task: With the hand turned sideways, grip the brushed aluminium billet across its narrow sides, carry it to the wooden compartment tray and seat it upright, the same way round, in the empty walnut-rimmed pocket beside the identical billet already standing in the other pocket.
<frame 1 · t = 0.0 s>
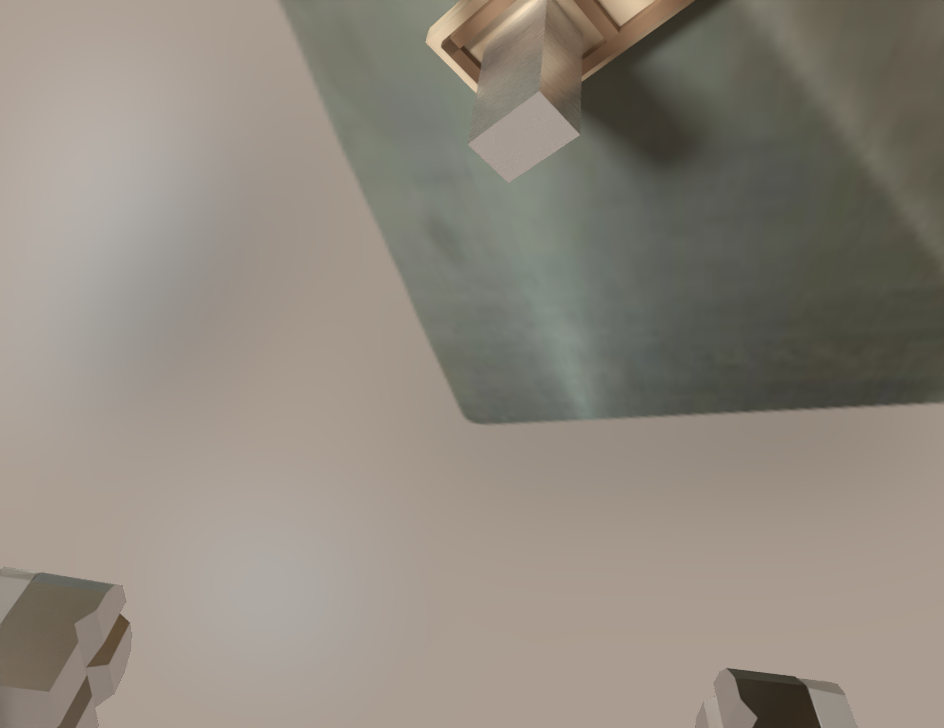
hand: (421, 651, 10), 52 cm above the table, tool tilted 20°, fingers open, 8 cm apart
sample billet: (533, 39, 56), resting on wooden compartment tray
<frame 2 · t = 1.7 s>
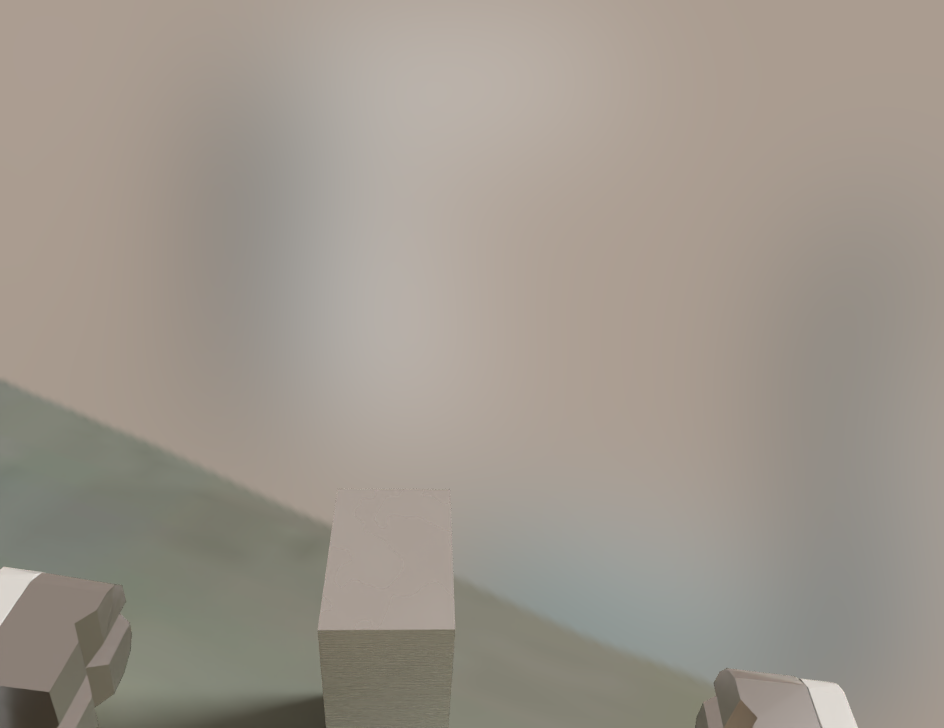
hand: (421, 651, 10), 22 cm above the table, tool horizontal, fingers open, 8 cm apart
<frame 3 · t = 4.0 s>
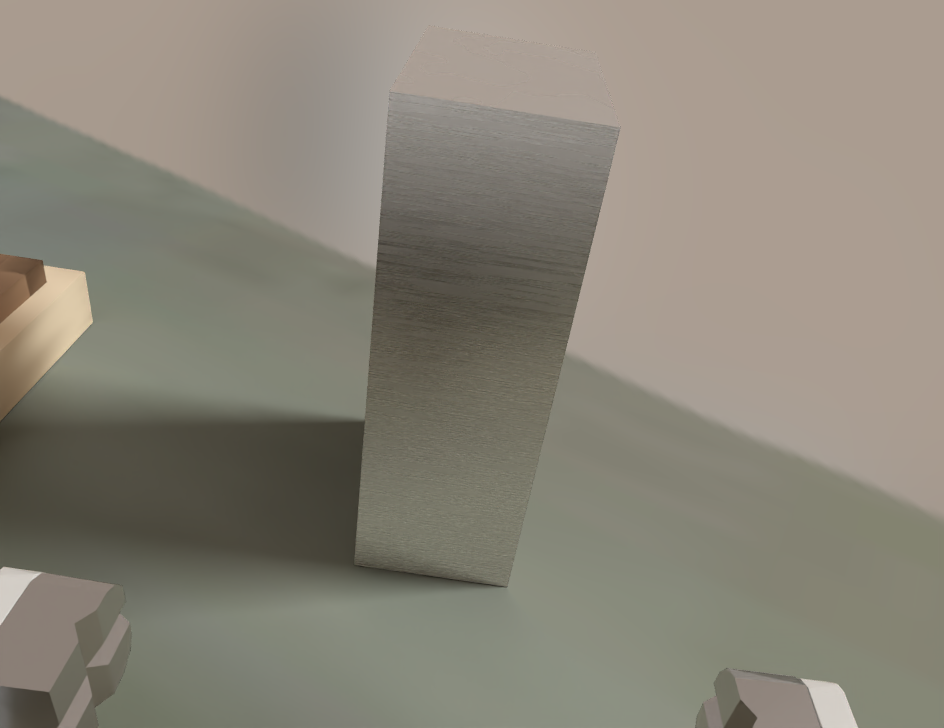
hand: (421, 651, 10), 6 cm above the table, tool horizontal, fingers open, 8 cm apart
aluminium billet: (442, 495, 22), on the table
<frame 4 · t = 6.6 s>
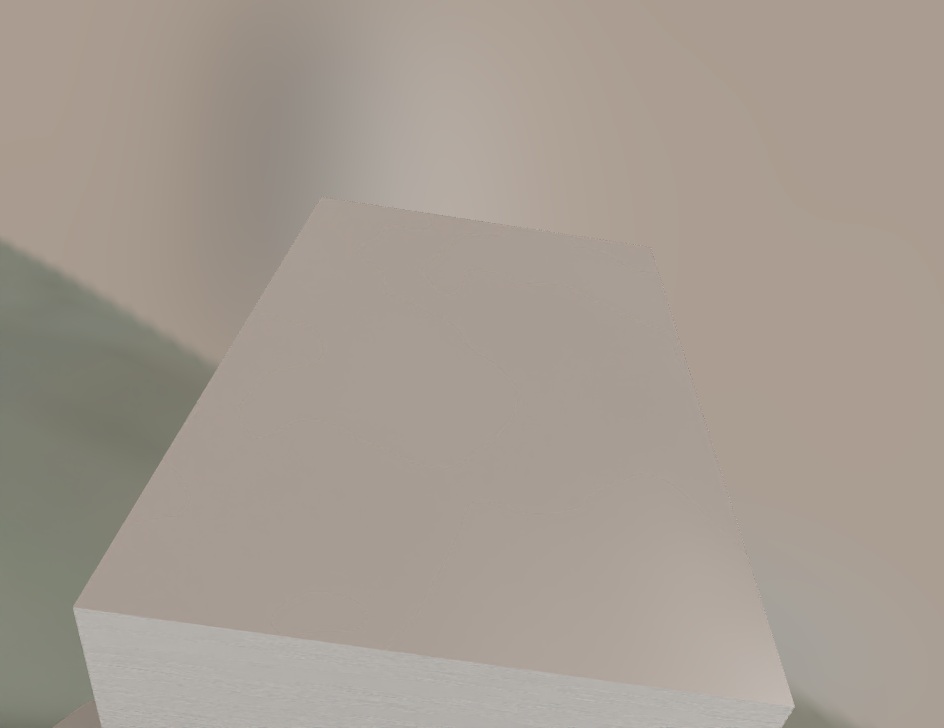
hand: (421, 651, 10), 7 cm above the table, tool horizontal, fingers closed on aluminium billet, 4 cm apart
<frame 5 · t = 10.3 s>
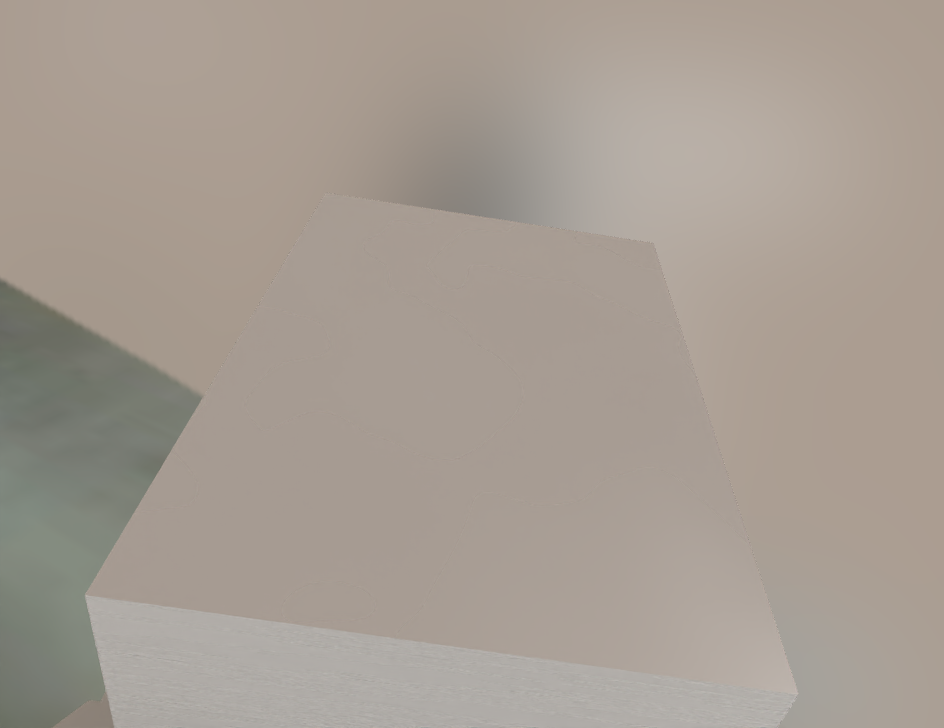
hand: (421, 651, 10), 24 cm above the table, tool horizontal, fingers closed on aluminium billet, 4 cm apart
when the fingers open (10 cm above the table, at t = 14.5 s): aluminium billet drops 1 cm, resting on wooden compartment tray.
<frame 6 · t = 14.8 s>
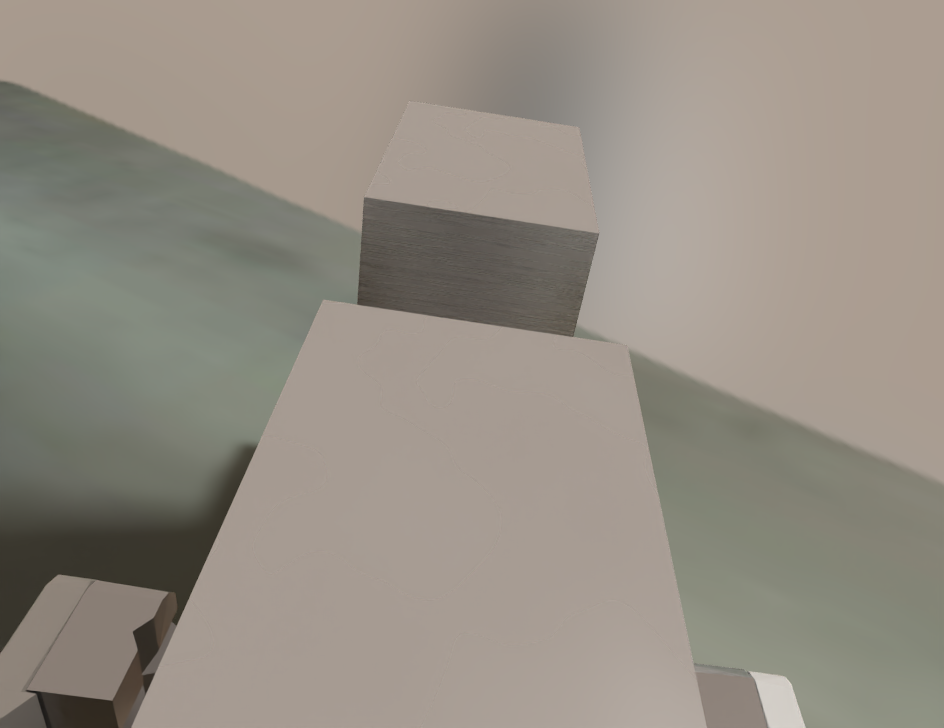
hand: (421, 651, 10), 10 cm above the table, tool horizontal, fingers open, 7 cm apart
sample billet: (426, 560, 22), resting on wooden compartment tray
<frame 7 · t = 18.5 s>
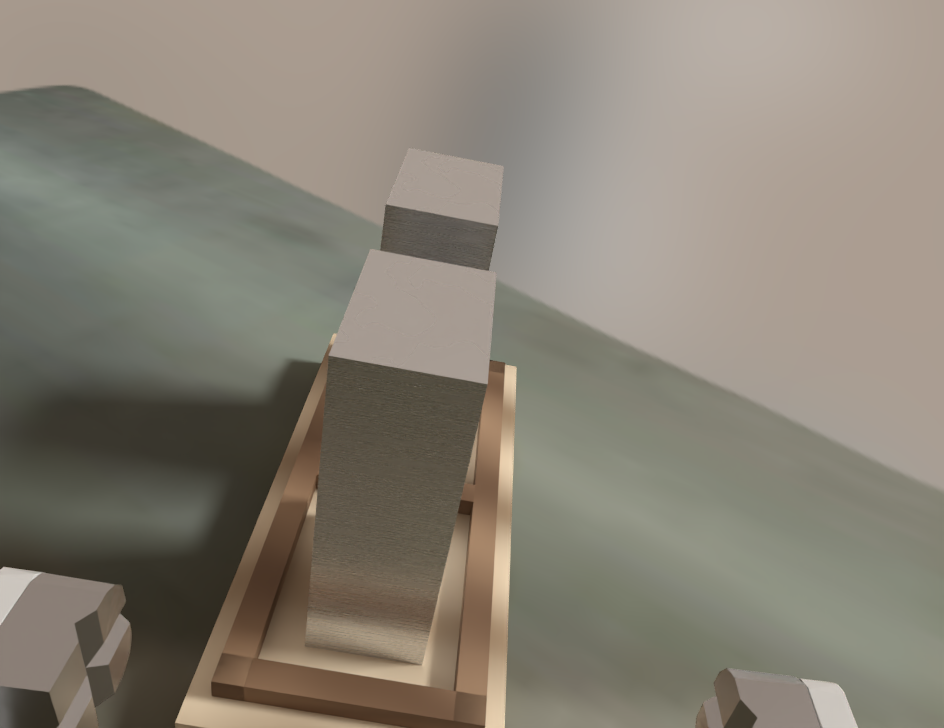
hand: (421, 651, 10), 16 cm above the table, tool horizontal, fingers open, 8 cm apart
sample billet: (410, 422, 36), resting on wooden compartment tray
wooden compartment tray: (389, 526, 33), on the table
aluminium billet: (378, 584, 28), point 2 cm above the table, touching wooden compartment tray
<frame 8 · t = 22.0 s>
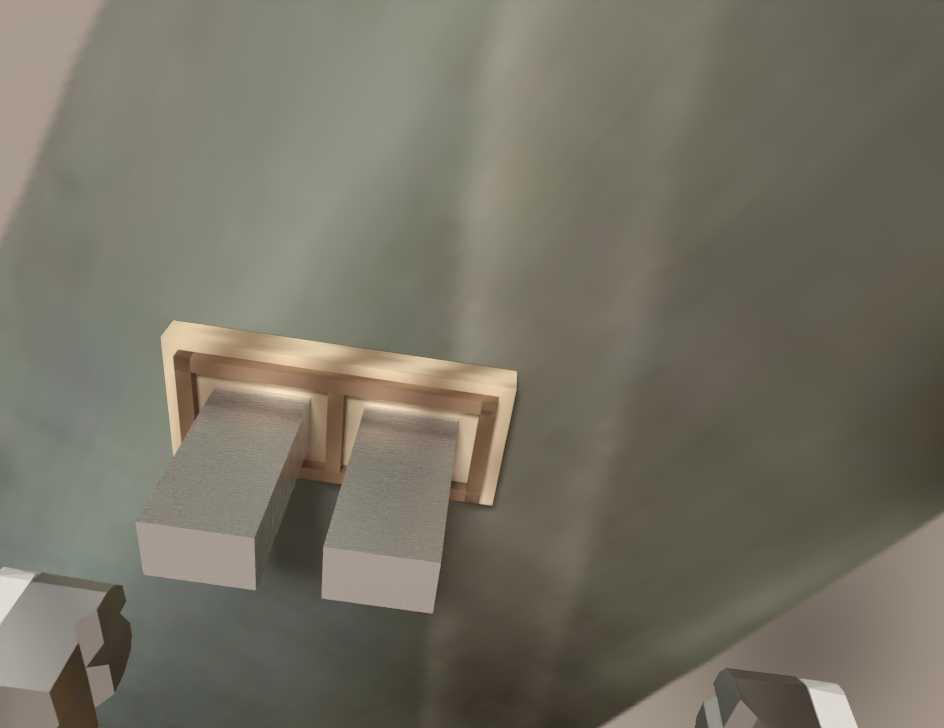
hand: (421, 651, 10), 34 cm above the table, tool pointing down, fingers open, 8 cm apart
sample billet: (263, 415, 50), resting on wooden compartment tray
wooden compartment tray: (342, 408, 51), on the table
aluminium billet: (409, 435, 50), point 2 cm above the table, touching wooden compartment tray
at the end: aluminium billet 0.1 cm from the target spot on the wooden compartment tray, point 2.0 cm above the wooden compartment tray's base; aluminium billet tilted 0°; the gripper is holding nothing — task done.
